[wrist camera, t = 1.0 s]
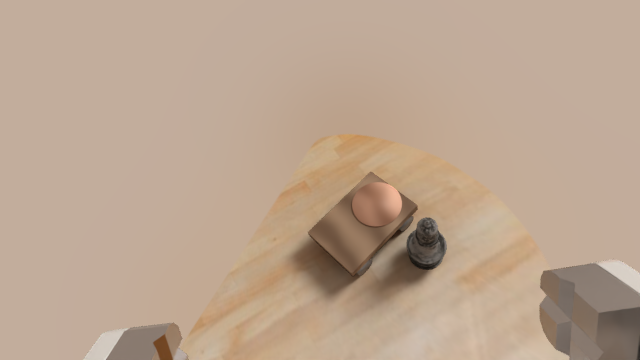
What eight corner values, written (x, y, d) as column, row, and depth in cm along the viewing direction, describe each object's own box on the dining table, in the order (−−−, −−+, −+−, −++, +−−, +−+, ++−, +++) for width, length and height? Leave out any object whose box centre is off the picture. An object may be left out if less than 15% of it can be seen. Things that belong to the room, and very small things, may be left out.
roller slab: (355, 282, 63) (351, 272, 59) (313, 242, 68) (307, 231, 64) (417, 217, 66) (417, 204, 62) (373, 184, 71) (370, 170, 67)
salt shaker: (401, 261, 63) (398, 231, 53) (415, 230, 65) (415, 196, 55) (436, 277, 61) (440, 249, 51) (450, 245, 63) (457, 211, 53)
